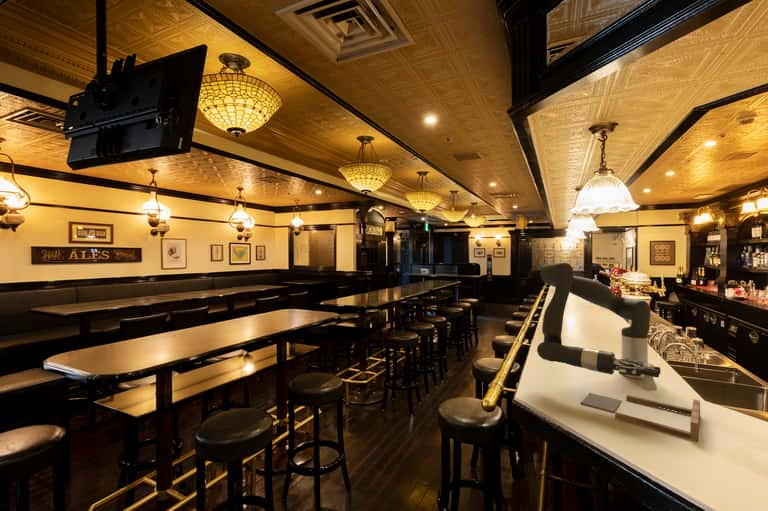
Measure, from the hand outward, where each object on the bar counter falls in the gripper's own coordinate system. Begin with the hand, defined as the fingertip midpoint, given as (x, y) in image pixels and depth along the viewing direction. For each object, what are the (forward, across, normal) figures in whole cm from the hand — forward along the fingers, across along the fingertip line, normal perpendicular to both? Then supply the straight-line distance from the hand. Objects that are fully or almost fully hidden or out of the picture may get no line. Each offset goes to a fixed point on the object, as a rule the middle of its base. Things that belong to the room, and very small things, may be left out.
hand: (659, 372), depth 110 cm
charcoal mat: (-16, 0, +15) cm, 22 cm away
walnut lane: (-1, 0, +15) cm, 15 cm away
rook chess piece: (-3, 0, +6) cm, 7 cm away
